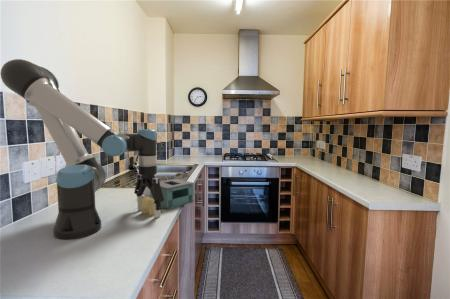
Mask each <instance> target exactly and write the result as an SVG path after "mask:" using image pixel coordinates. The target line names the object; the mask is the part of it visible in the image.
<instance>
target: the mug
mask: <svg viewBox="0 0 450 299" xmlns="http://www.w3.org/2000/svg"><path fill="white" fill-rule="evenodd" d="M143 194H144V195H143V196H144V197H147V196H148V197H150V189H148V187H146V188H145V190H144V192H143Z"/></svg>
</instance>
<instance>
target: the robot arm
mask: <svg viewBox="0 0 450 299" xmlns="http://www.w3.org/2000/svg"><path fill="white" fill-rule="evenodd" d="M0 79H1V82H2V83H3V84H4V86H6V87H7V88H8V89H9V90H11V91H12V92H13V93H15V94H17V95H18V96H19V97H21V98H23V99H24V100H25V101H26V102H27V104H28V105H29V106H30V107H33V108H35V109H36V111H37V113H38V114H39V117H40V118H41V120H42V122H43V123H44V126H45V127H46V129H47V131H48V133H49V134H50V136H51V138H52V140H53V142H54V144H55V145H56V147H57V149H58V151H59V152H60V154H61V156H62V158H63V159H64V162H65V165H64V167H61V168H60V169H59V170H58V171H57V173H56V179H55V181H56V189H57V192H56V194H57V207H58V211H57V216H56V218H55V223H54V226H53V228H52V229H53V236H54V238H57V239H60V240H61V239H62V240H72V239H73V240H74V239H80V238H84V237H87V236H90V235H93V234H95V233H98V232H99V231H100V230H101V229H102V220H101V217H100V215H99V212H98V210H97V208H96V192H97V191H99V189H100V188H102V187H103V186H104V184H105V182H106V181H107V180H106V179H107V172H106V170H105V168H104V166H103V165H101V164H99V163H98V161H97V159H96V157H95V156H94V155H92V154H90V153H88V151H87V149H86V147H85V145H84V143H83V142H82V140H81V137H80V135H79V134H78V132H79V133H80V134H81V135H83V136H84V137H85V138H87V139H89V141H91V142H93V143H94V144H95V145H97V146H99V147H100V148H101V149H102V151H103V153H105V155H107V156H109V157H119V156H121V155H123V154H125V152H126V153H128V152H130V153H131V152H135V153H137V152H138V153H137V154H138V155H137V156H138V157H137V158H138V160H137V161H138V174H137V176H136V178H137V179H136V183H135V188H134V195H136V200H137V211H138V212H139V211H142V200H141V198H143V197H145V196H144V194H143V192H144V190H145V188H146V187H148V189H150V191H151V194H152V196H153V199H154V201H155V202H154V215H153V218H154V219H156V218H160V217H161V209H162V207H161V204H160V203H161V202H162V201H164V198H163V194H162V190H161V187H160V182H161V181H160V178H159V177H155V175H156V174H157V173H158V165H157V163H158V161H157V132H156V130H155V129H152V128H151V129H149V128H147V129H146V128H145V129H143V128H141V129H138V130H137V133H118V132H116V131H115V130H114V129H112V128H111V127H109V126H108V125H106V124H105V123H104V122H102V121H101V120H99V119H98V118H97V117H96V116H94V115H93V114H91V113H89V112H88V111H87V110H85V109H84V108H83V107H81V106H80V105H78V104H77V103H76V102H75V101H73V100H72V99H70V98H69V97H67V96H66V95H65V94H63V93H62V92H61V90H60V89H59V88H60V84H59V80H58V79H57V77H56V75H55V74H54V73H53V72H51V71H50V70H49V69H48V68H45V67H43V66H40V65H37V64H35V63H33V62H31V61H29V60H26V59H21V58H20V59H19V58H18V59H17V58H15V59H11V60H8V61H6V62H5V63H4V64H3V65H2V67H1V69H0Z"/></svg>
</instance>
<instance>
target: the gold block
mask: <svg viewBox="0 0 450 299" xmlns="http://www.w3.org/2000/svg"><path fill="white" fill-rule="evenodd" d="M141 200H142V210H141V214H143V215H145V216H147V217H152V216H153V217H154V202H155V201H154V199H153V198H151V197H148V196H147V197H145V196H144V197H143V198H141Z"/></svg>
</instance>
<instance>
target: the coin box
mask: <svg viewBox="0 0 450 299" xmlns="http://www.w3.org/2000/svg"><path fill="white" fill-rule="evenodd" d="M160 187H161V190H162V194H163V198H164V201H162V202H161V203H160V204H161V209H162V208H163V209H165V210H170V209H173V208H177V207H181V206H185V205H188V204H191V203H194V182H191V181H187V180H183V179H181V178H180V179H179V178H173V179H166V180H161V181H160ZM150 197H151V198H153V196H152V194H151V191H150Z"/></svg>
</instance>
